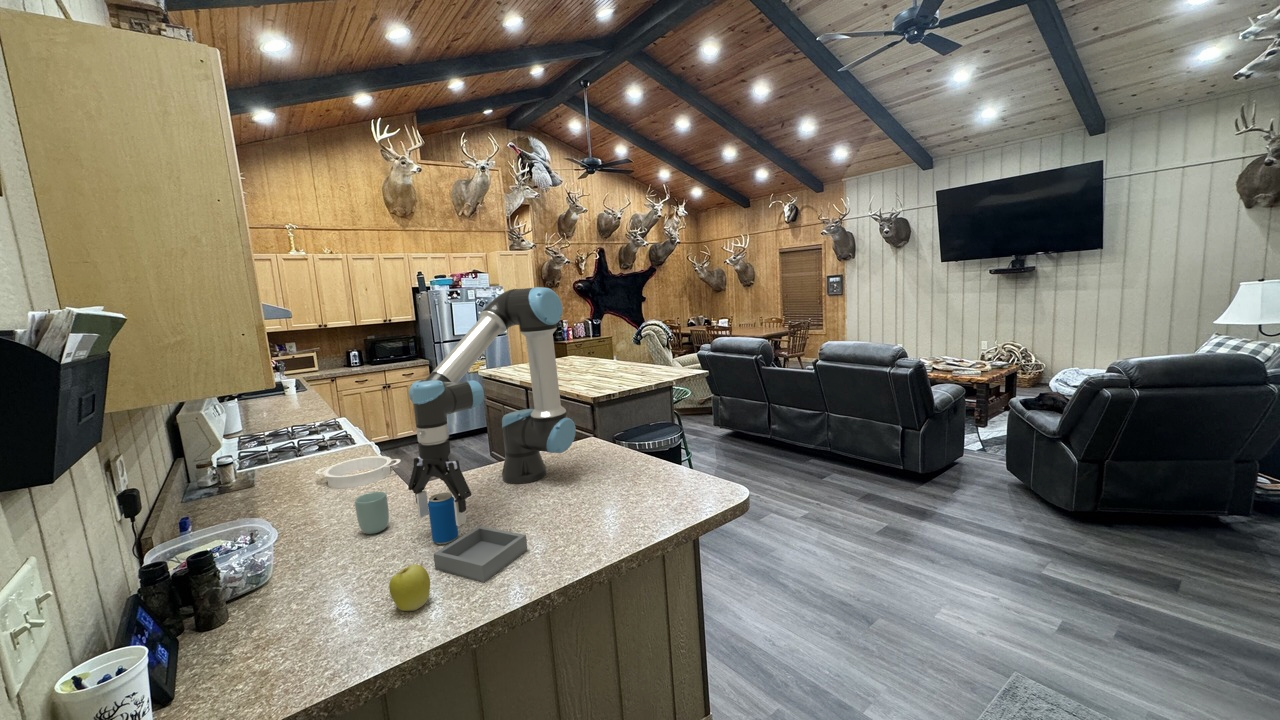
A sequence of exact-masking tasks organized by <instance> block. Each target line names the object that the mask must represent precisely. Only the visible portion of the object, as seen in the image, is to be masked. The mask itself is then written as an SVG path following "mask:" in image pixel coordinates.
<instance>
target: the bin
mask: <svg viewBox="0 0 1280 720" xmlns="http://www.w3.org/2000/svg"><path fill="white" fill-rule="evenodd" d="M527 551H528V542H527V535H526V534H524V533H523V534H522V533H517V532H512V531H507V530H503V529H498V528H492V527H488V526H482V525H479V526H477V527H475V528H474V529H472V530H470V531H469V532H467V533H466V534H464V535H462V536H460V537H458V538H456V539H455V540H454V541H453V542H451V543H448V544H446V545H445V546H444V547H443V548H440V549H439V550H438V551H435V552H433V562H434V569H435V570H436V571H438V570H439V571H438V572H442V571H443V572H442V573H446V572H447V574H451V575H455V576H458V577H462V578H466V579H470V580H473V581H476V582H480V583H486V582H487V581H489V580H490V579H491V578H493V577H494V576H495V575H496V574H498V573H499V572H501V571H502V570H503V569H504V568H505V567H507V566H508V565H510V564H511V563H512V562H514V561H515V560H516V559H517V558H519V557H521V555H523V554H524V553H526V552H527Z"/></svg>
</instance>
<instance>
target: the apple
mask: <svg viewBox="0 0 1280 720" xmlns="http://www.w3.org/2000/svg"><path fill="white" fill-rule="evenodd" d="M388 589H389V594H390V597H391V598H392V601H393V603H394V604H395V606H396V607H397V608H398V609H399V610H400V611H402V612H411V611H416V610H419V609H420V608H421V607H423V606H424V605H425V604H426V602H427V601H428V599H429V597H430V592H431V578H430V576H429V573H428V571H427V569H425V567H424V566H422V565H420V564H412V565H409V566H405V567H404V568H403V569H401V570H400V571H398V572H396V574H394V575H393V576H392V577H391V578H390V580H389V585H388Z"/></svg>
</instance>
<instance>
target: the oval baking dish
mask: <svg viewBox="0 0 1280 720" xmlns="http://www.w3.org/2000/svg"><path fill="white" fill-rule="evenodd" d="M392 461H396V462H395V463H392ZM400 462H401V459H400V458H396V459H395V458H394V459H392V458H391V457H389V456H385V455H371V456H362V457H357V458H350V459H348V460H344V461H340V462H338V463H335V464H333V465H331V466H330V465H329V466H324V467H320V468H319V469H316V470H315V474H316V475H318V474H319V475H323V476H325V477H326V480H327V485H328V487H330V488H332V489H348V488H349V489H350V488H357V487H362V486H367V485H370V484H372V483H373V484H374V483H376V482H378V481H380V480H383V479H385V478H387V477H388V476H389V475H390V474H391V468H390V467H391V466H396V465H398V464H399V463H400ZM370 469H371V470H370ZM364 470H369V471H365V472H360V473H355V474H350V473H353V472H357V471H364ZM321 471H323V472H321ZM347 474H349V475H347Z"/></svg>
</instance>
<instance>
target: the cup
mask: <svg viewBox="0 0 1280 720" xmlns="http://www.w3.org/2000/svg"><path fill="white" fill-rule="evenodd" d="M354 507H355V514H356V520H357V523H358V527H359V529H360V530H361V531H362V532H363V533H364V534H367V535H375V534H378V533H381V532H383V531H384V530H385V529H386V528H387V527H388V525H389V521H390V509H389V501H388V496H387V493H386V492H385V491H371V492H367V493H364V494H362V495H359V496H357V498H355V499H354Z"/></svg>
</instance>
